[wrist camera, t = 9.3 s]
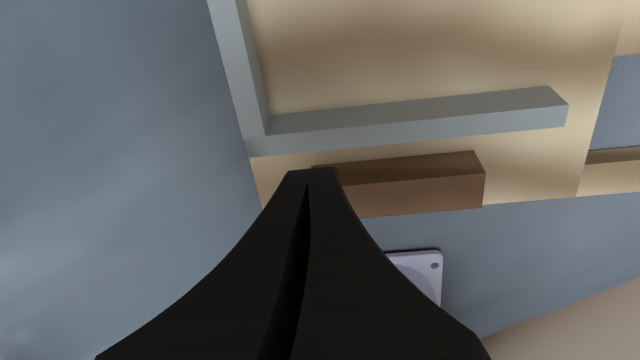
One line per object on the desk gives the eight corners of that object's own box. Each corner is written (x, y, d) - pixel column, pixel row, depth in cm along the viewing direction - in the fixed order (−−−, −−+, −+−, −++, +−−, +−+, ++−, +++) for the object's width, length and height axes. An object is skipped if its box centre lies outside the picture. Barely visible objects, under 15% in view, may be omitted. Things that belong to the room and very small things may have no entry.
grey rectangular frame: (544, 106, 20) (564, 126, 18) (254, 136, 21) (247, 158, 19) (606, -219, 13) (645, -232, 12) (184, -151, 14) (166, -155, 13)
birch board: (752, 166, 23) (771, 180, 22) (268, 209, 25) (265, 223, 24) (1003, -300, 13) (1058, -315, 12) (176, -164, 15) (165, -167, 14)
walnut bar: (467, 213, 23) (478, 238, 22) (320, 225, 24) (320, 251, 22) (473, 150, 21) (486, 172, 19) (311, 165, 22) (309, 189, 20)
